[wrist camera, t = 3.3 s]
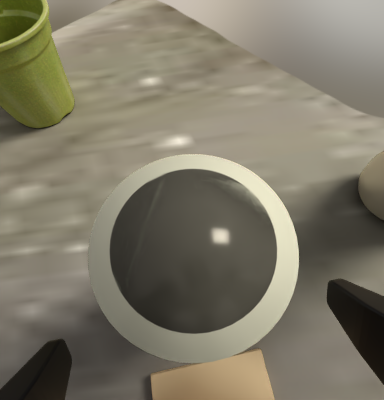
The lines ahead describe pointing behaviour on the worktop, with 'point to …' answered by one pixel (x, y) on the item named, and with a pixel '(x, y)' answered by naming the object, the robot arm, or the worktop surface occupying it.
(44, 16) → the plant pot
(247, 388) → the coaster
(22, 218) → the worktop surface
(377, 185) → the plastic bottle
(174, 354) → the tumbler
